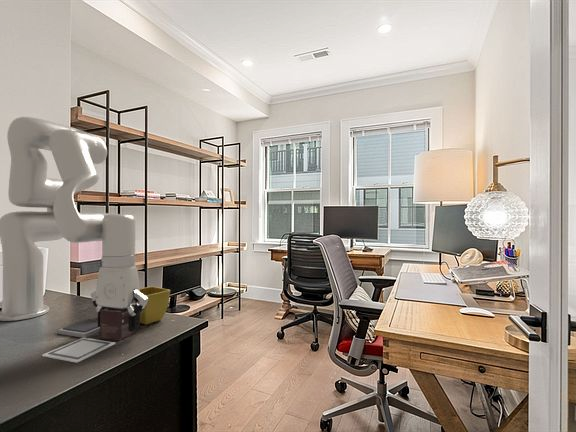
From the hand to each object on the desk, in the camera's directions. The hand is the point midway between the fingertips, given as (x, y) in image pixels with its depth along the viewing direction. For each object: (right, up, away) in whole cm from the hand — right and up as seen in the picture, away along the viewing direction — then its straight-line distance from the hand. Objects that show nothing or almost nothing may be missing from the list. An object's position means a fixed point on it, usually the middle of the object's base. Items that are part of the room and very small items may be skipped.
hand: (118, 327), depth 81 cm
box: (0, -2, 0) cm, 2 cm away
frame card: (-4, -2, -9) cm, 10 cm away
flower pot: (+3, -2, +11) cm, 11 cm away
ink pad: (-10, -2, +4) cm, 11 cm away
